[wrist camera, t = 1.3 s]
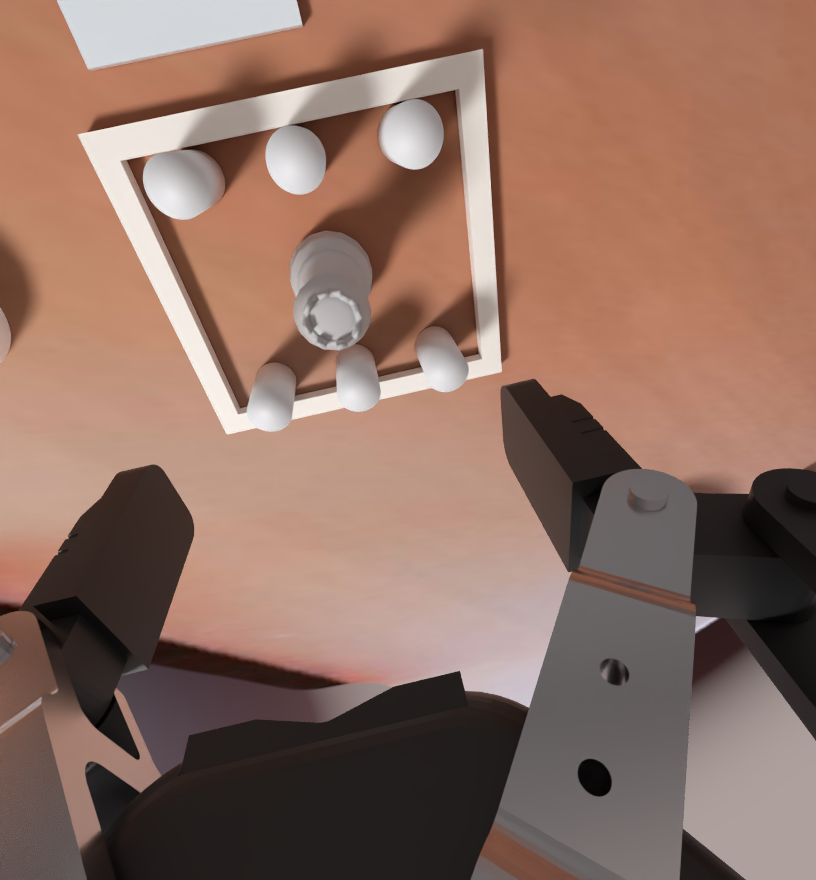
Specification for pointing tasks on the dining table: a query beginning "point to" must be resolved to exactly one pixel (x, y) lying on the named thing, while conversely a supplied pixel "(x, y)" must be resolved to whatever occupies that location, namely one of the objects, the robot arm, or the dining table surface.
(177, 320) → the frame
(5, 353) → the white holed part
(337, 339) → the rook chess piece
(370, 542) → the dining table surface
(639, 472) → the robot arm
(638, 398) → the dining table surface
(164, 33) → the tile
